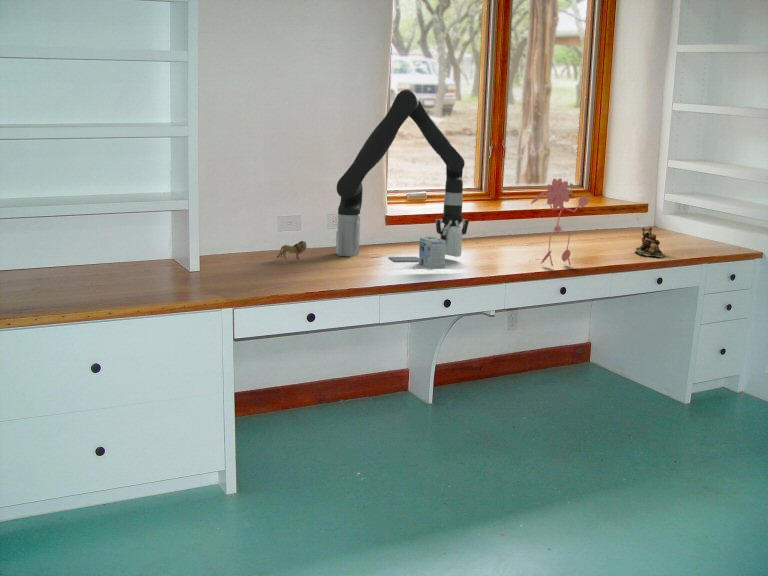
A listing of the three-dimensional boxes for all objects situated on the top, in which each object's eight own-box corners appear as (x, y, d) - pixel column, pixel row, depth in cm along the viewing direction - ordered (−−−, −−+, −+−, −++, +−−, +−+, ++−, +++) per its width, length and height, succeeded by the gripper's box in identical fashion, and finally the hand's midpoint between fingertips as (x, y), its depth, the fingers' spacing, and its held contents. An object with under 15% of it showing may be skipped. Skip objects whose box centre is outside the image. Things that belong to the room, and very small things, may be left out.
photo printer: (437, 253, 374) (439, 224, 372) (445, 252, 377) (446, 223, 375) (454, 257, 367) (456, 227, 364) (462, 256, 369) (464, 226, 367)
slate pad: (394, 261, 362) (394, 261, 362) (388, 257, 372) (388, 256, 372) (423, 261, 365) (423, 260, 365) (416, 257, 375) (416, 256, 375)
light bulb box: (418, 263, 361) (419, 236, 359) (433, 262, 364) (434, 236, 362) (429, 268, 352) (431, 240, 349) (445, 267, 354) (446, 240, 352)
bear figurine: (634, 256, 399) (636, 229, 397) (634, 251, 413) (636, 225, 411) (666, 258, 396) (668, 231, 393) (665, 253, 410) (667, 227, 408)
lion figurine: (306, 258, 365) (306, 240, 363) (306, 259, 360) (306, 241, 359) (276, 257, 364) (277, 239, 363) (276, 259, 360) (276, 241, 358)
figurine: (587, 264, 372) (594, 179, 365) (537, 267, 360) (543, 180, 353) (564, 258, 385) (570, 176, 378) (514, 261, 373) (520, 176, 366)
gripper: (439, 204, 362) (436, 245, 366) (472, 204, 366) (470, 245, 369) (433, 202, 369) (431, 242, 373) (466, 202, 373) (464, 243, 376)
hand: (450, 244), depth 371 cm, fingers closed on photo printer, 5 cm apart
